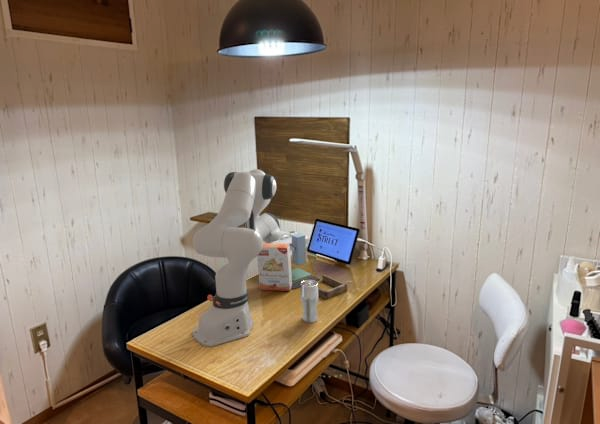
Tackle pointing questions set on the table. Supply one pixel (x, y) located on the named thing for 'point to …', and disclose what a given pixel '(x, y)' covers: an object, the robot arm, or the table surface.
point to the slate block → (299, 249)
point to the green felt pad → (299, 274)
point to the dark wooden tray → (337, 290)
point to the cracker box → (275, 267)
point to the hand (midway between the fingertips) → (299, 247)
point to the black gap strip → (298, 283)
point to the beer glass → (309, 300)
